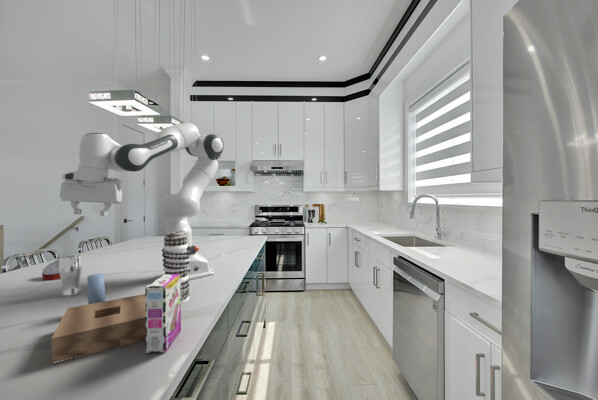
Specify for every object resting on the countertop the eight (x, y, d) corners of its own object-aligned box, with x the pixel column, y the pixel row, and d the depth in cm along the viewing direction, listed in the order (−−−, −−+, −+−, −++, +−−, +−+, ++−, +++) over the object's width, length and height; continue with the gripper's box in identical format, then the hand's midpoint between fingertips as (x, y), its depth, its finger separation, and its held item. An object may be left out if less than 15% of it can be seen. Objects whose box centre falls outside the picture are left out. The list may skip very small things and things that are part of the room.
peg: (105, 307, 94) (104, 272, 93) (104, 311, 90) (103, 276, 89) (89, 310, 91) (88, 275, 91) (87, 315, 87) (86, 278, 87)
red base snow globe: (70, 285, 132) (76, 268, 130) (42, 289, 123) (48, 271, 121) (63, 271, 138) (69, 255, 136) (37, 274, 129) (42, 256, 127)
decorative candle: (170, 295, 104) (169, 230, 103) (194, 295, 104) (193, 230, 103) (157, 305, 95) (155, 234, 94) (183, 305, 94) (182, 233, 94)
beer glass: (69, 297, 103) (68, 258, 103) (55, 296, 104) (53, 258, 104) (87, 291, 110) (86, 254, 109) (73, 290, 111) (72, 254, 111)
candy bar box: (166, 353, 66) (165, 286, 65) (145, 354, 65) (143, 287, 65) (182, 330, 77) (181, 273, 77) (164, 331, 76) (162, 273, 76)
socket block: (146, 311, 90) (146, 293, 89) (151, 338, 73) (150, 316, 73) (68, 328, 79) (67, 308, 79) (52, 364, 62) (51, 338, 62)
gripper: (127, 179, 102) (124, 216, 101) (72, 176, 101) (69, 213, 101) (116, 177, 95) (113, 216, 95) (57, 174, 95) (54, 213, 95)
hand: (90, 214), depth 98 cm, fingers open, 8 cm apart
